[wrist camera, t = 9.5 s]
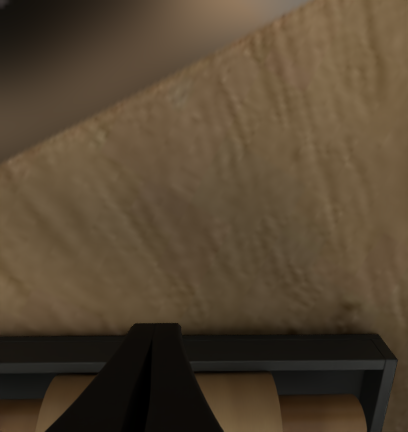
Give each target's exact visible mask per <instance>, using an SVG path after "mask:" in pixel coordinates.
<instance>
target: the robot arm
mask: <svg viewBox="0 0 408 432" xmlns="http://www.w3.org/2000/svg"><path fill="white" fill-rule="evenodd" d="M45 432H224V431H223V429H222V427H221V426H220V424H219V422H218V421H217V419H216V417H215V415H214V414H213V412H212V410H211V408H210V406H209V404H208V403H207V401H206V399H205V397H204V394H203V392H202V390H201V388H200V386H199V384H198V382H197V380H196V377H195V375H194V372H193V370H192V367H191V365H190V362H189V359H188V357H187V354H186V350H185V347H184V343H183V339H182V333H181V326H180V325H179V324H178V323H135V324H134V325H133V326H132V327H131V328H130V330H129V331H128V333H127V335H126V336H125V338H124V339H123V341H122V342H121V344H120V345H119V346H118V348H117V349H116V351H115V352H114V353H113V355H112V356H111V357H110V359H109V360H108V361H107V363H106V364H105V365H104V366H103V368H102V369H101V370H100V372H99V373H98V374H97V375H96V377H95V378H94V379H93V380H92V381H91V383H90V384H89V385H88V386H87V387H86V388H85V389H84V391H83V392H82V393H81V394H80V395H79V396H78V398H77V399H76V400H75V401H74V402H73V403H72V404H71V405H70V406H69V407H68V408H67V409H66V411H65V412H64V413H63V414H62V415H61V416H60V417H59V418H58V419H57V420H56V421H55V422H54V423H53V424H52V425H51V426H50V427H49V428H48V429H47V430H46V431H45Z"/></svg>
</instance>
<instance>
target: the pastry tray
mask: <svg viewBox="0 0 408 432" xmlns="http://www.w3.org/2000/svg"><path fill="white" fill-rule="evenodd" d="M124 338H125V336H52V337H0V399H42V398H44V396H45V393H46V391H47V389H48V387H49V385H50V383H51V381H52V380H53V378H54V377H55V376H56V375H57V374H59V373H99V372H100V370H101V369H102V368H103V366H104V365H105V364H106V363H107V361H108V360H109V359H110V357H111V356H112V355H113V353H114V352H115V351H116V349H117V348H118V346H119V345H120V344H121V342H122V341H123V339H124ZM182 339H183V343H184V347H185V350H186V354H187V357H188V359H189V362H190V365H191V367H192V370H193V372H198V371H270V373H271V374H272V377H273V379H274V382H275V385H276V389H277V393H278V395H291V394H353V395H355V396H356V397H357V399H358V400H359V402H360V404H361V406H362V409H363V412H364V415H365V419H366V425H367V432H381V431H382V427H383V422H384V418H385V414H386V409H387V405H388V401H389V396H390V392H391V388H392V383H393V379H394V375H395V370H396V366H397V362H398V359H397V358H396V357H395V355H394V354H393V353H392V351H391V350H390V349H389V348H388V346H387V345H386V344H385V342H384V341H383V340H382V338H381V337H380V336H379V335H378V334H347V335H199V336H182Z"/></svg>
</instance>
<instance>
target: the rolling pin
mask: <svg viewBox="0 0 408 432" xmlns="http://www.w3.org/2000/svg"><path fill="white" fill-rule="evenodd" d="M97 374H98V373H59V374H57V375H56V376H55V377H54V378H53V380H52V381H51V383H50V385H49V387H48V389H47V391H46V393H45V396H44V398H42V399H0V432H45V431H46V430H47V429H48V428H49V427H50V426H51V425H52V424H53V423H54V422H55V421H56V420H57V419H58V418H59V417H60V416H61V415H62V414H63V413H64V412H65V411H66V409H67V408H68V407H69V406H70V405H71V404H72V403H73V402H74V401H75V400H76V399H77V398H78V396H79V395H80V394H81V393H82V392H83V391H84V389H85V388H86V387H87V386H88V385H89V384H90V383H91V381H92V380H93V379H94V378H95V377H96V375H97ZM194 375H195V377H196V380H197V382H198V384H199V386H200V388H201V390H202V392H203V394H204V397H205V399H206V401H207V403H208V404H209V406H210V408H211V410H212V412H213V414H214V415H215V417H216V419H217V421H218V422H219V424H220V426H221V427H222V429H223V431H224V432H367V425H366V419H365V415H364V412H363V409H362V406H361V404H360V402H359V400H358V399H357V397H356V396H355V395H353V394H291V395H278V393H277V389H276V385H275V382H274V379H273V377H272V374H271V373H270V371H198V372H194Z"/></svg>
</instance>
